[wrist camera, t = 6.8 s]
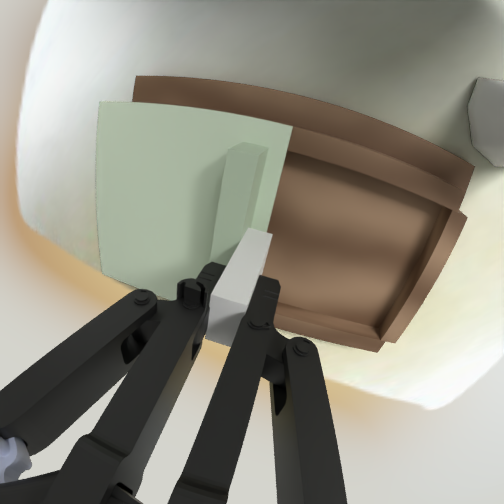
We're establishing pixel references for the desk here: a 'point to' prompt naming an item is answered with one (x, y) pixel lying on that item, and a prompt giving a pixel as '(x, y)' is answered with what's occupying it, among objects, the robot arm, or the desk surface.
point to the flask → (488, 119)
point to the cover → (180, 188)
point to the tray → (343, 211)
